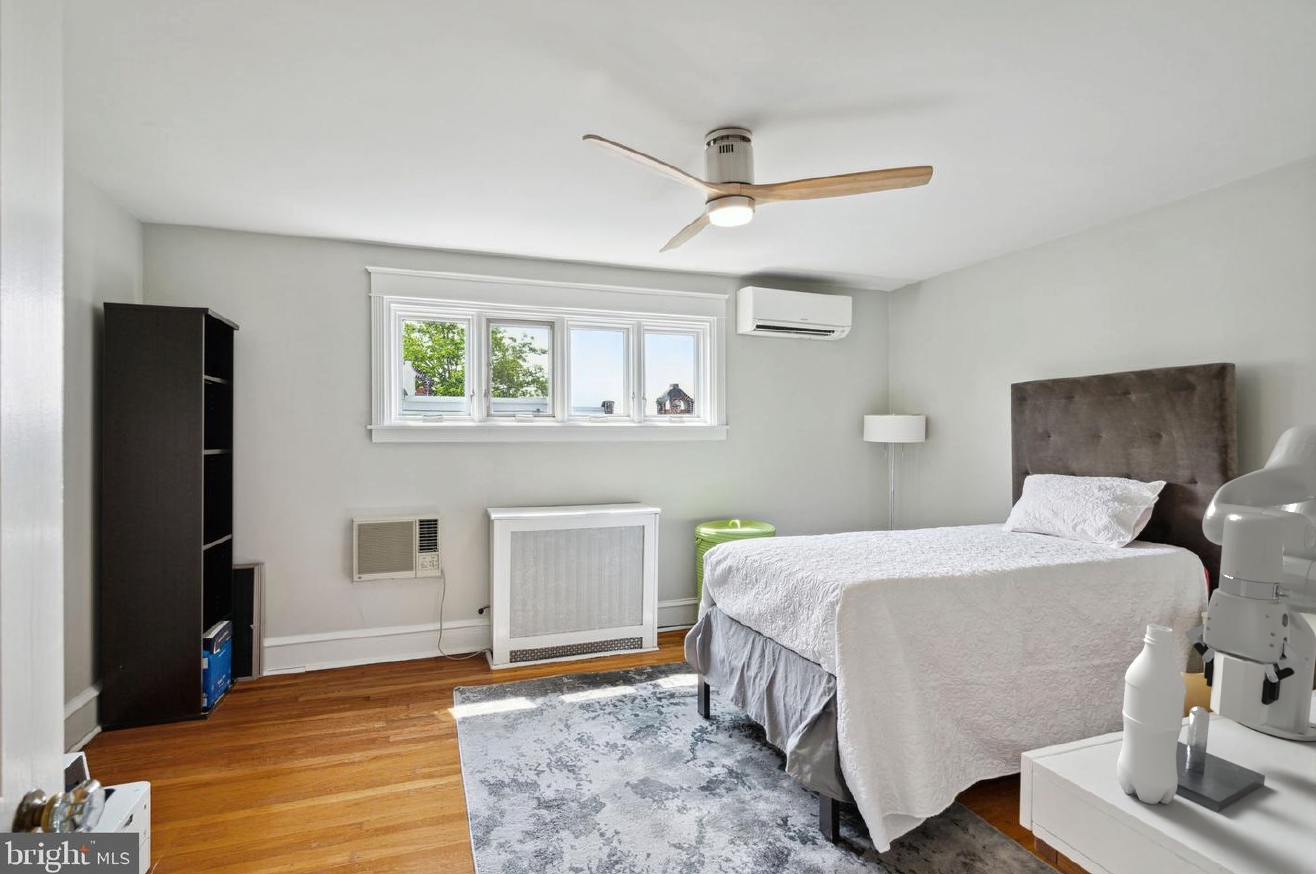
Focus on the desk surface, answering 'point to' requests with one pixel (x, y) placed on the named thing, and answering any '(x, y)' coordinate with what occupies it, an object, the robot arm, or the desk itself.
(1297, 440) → the robot arm
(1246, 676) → the white hollow octagonal tube
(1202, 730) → the roll holder
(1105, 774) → the desk surface
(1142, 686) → the water bottle
